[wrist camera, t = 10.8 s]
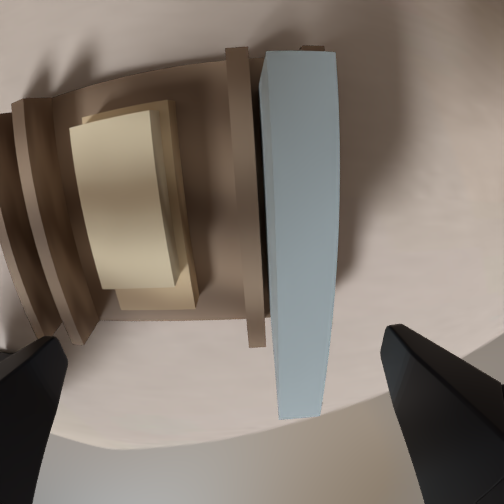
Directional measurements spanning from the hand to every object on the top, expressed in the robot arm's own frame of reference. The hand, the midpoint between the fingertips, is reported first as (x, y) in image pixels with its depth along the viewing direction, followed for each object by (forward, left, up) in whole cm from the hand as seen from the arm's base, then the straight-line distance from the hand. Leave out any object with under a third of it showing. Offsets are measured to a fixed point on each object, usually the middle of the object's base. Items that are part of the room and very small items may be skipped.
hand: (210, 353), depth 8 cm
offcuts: (+1, +5, -12) cm, 13 cm away
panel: (+1, -3, -12) cm, 12 cm away
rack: (+1, +5, -13) cm, 13 cm away
